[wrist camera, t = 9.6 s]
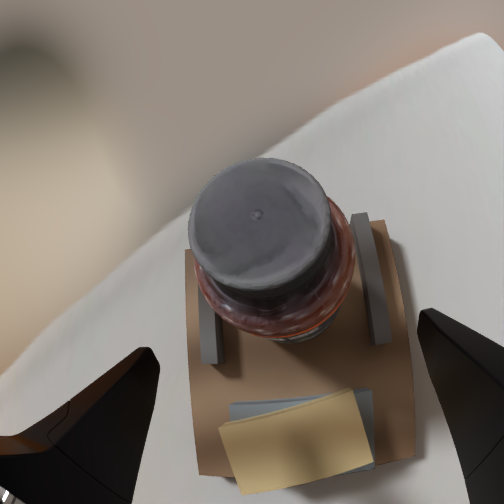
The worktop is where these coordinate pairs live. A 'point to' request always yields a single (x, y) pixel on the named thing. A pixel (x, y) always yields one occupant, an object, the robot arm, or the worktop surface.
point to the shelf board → (305, 383)
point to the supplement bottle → (271, 250)
